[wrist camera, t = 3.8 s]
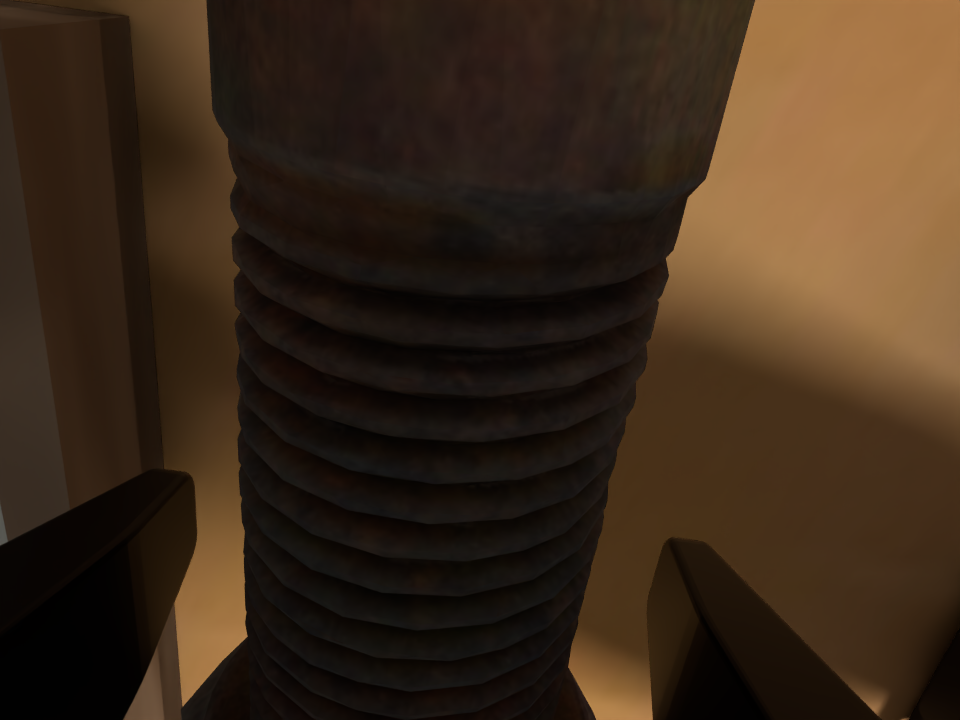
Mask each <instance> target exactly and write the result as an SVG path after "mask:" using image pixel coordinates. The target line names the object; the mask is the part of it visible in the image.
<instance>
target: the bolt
mask: <svg viewBox="0 0 960 720" xmlns="http://www.w3.org/2000/svg"><path fill="white" fill-rule="evenodd" d="M754 2H755V0H207V18H208V37H209V55H210V73H211V91H212V110H213V113H214V115H215V118H216V120H217V122H218V124H219V126H220V127H221V129H222V130H223V132H224V134H225V135H226V137H227V138H228V149H229V157H230V160H231V164H232V167H233V171H234V173H235V174H236V176H237V178H238V179H236V182H235V184H234V187H233V190H232V192H231V195H230V202H231V210H232V212H233V215H234V217H235V219H236V221H237V223H238V225H239V229H238V230H237V231H236V232H235V234H234V235H233V236H232V251H233V261H234V262H235V263H236V264H237V266H238V267H239V268H240V269H241V270H240V272H239V273H238V275H237V276H236V278H235V279H234V294H235V306H236V307H237V308H238V310H239V311H240V312H241V313H240V315H239V316H238V318H237V320H236V322H235V330H236V335H237V340H238V344H239V349H240V355H239V360H238V365H237V380H238V383H239V386H240V389H241V391H240V396H239V402H238V407H237V409H238V419H239V422H240V426H241V431H240V434H239V437H238V456H239V462H240V464H241V467H240V470H239V485H240V495H241V497H242V502H241V513H242V523H243V526H244V530H245V538H244V551H243V553H244V555H245V556H244V573H245V606H246V611H247V614H246V621H245V624H246V630H247V635H248V637H247V638H246V639H245V640H244V641H243V642H242V643H241V644H240V645H239V646H237V647H236V648H235V649H234V650H233V651H232V652H231V653H230V654H229V655H228V656H227V657H226V658H225V659H224V660H223V661H222V662H221V663H220V664H219V665H218V667H217V668H216V669H215V670H214V671H213V672H212V674H211V675H210V676H209V677H208V678H207V679H206V681H205V682H204V683H203V684H202V685H201V686H200V688H199V689H198V690H197V691H196V692H195V693H194V695H193V696H192V697H191V698H190V699H189V700H188V702H187V703H186V704H185V705H184V706H183V707H182V709H181V719H182V720H596V718H595V716H594V713H593V711H592V709H591V707H590V706H589V704H588V702H587V700H586V698H585V697H584V695H583V693H582V691H581V689H580V688H579V686H578V684H577V682H576V680H575V679H574V677H573V675H572V673H571V671H570V670H569V668H568V664H569V657H570V651H571V645H572V642H573V639H574V636H575V632H576V629H577V626H578V616H579V613H580V609H581V606H582V602H583V599H584V592H585V589H586V585H587V582H588V578H589V575H590V571H591V565H592V561H593V558H594V555H595V551H596V548H597V544H598V539H599V536H600V534H601V531H602V525H603V518H604V511H603V510H604V509H605V507H606V503H607V499H608V480H609V478H610V476H611V473H612V471H613V468H614V466H615V462H616V456H617V448H618V446H619V444H620V441H621V439H622V437H623V434H624V432H625V425H626V416H627V415H628V414H629V412H630V411H631V409H632V408H633V406H634V402H635V399H636V381H637V379H638V378H639V377H640V375H641V374H642V373H643V372H644V370H645V366H646V362H647V350H646V343H647V342H648V340H649V339H650V338H651V335H652V331H653V327H654V323H655V319H656V315H657V310H658V305H659V302H658V299H659V298H660V297H661V296H662V293H663V290H664V288H665V285H666V282H667V280H668V277H669V274H668V268H667V262H666V257H667V256H668V255H669V254H670V253H671V252H672V251H673V249H674V246H675V243H676V240H677V237H678V233H679V229H680V226H681V222H682V218H683V214H684V210H685V206H686V202H687V198H688V197H689V196H690V195H691V194H692V192H693V191H694V190H695V189H696V188H697V187H698V186H699V185H700V184H701V183H702V182H703V181H704V180H705V179H706V176H707V173H708V170H709V167H710V163H711V159H712V156H713V152H714V148H715V145H716V141H717V137H718V134H719V130H720V126H721V123H722V119H723V115H724V112H725V108H726V104H727V101H728V97H729V93H730V90H731V86H732V82H733V79H734V75H735V71H736V68H737V64H738V61H739V57H740V53H741V50H742V46H743V42H744V39H745V35H746V31H747V28H748V24H749V20H750V17H751V13H752V9H753V6H754Z"/></svg>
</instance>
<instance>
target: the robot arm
mask: <svg viewBox="0 0 960 720" xmlns="http://www.w3.org/2000/svg"><path fill="white" fill-rule="evenodd" d="M196 541H197V520H196V502H195V486H194V481H193V478H192V476H191V475H189V474H188V473H187V472H182V471H175V470H167V469H160V468H154V469H150V470H148V471H145V472H143V473H141V474H140V475H138V476H136V477H134V478H132V479H130V480H128V481H126V482H124V483H122V484H120V485H118V486H116V487H114V488H112V489H110V490H108V491H106V492H104V493H102V494H100V495H98V496H96V497H94V498H92V499H90V500H88V501H86V502H84V503H83V504H81V505H79V506H77V507H75V508H73V509H71V510H69V511H67V512H65V513H63V514H61V515H59V516H57V517H55V518H53V519H51V520H49V521H47V522H45V523H43V524H41V525H39V526H37V527H35V528H33V529H31V530H29V531H27V532H26V533H24V534H22V535H20V536H18V537H16V538H14V539H12V540H10V541H8V542H6V543H4V544H2V545H0V720H123V719H124V718H125V716H126V714H127V712H128V710H129V708H130V706H131V704H132V702H133V700H134V698H135V696H136V694H137V692H138V690H139V688H140V686H141V684H142V682H143V680H144V677H145V675H146V673H147V670H148V668H149V666H150V663H151V661H152V658H153V656H154V653H155V651H156V648H157V646H158V643H159V640H160V638H161V635H162V633H163V630H164V628H165V625H166V623H167V620H168V618H169V615H170V613H171V610H172V607H173V605H174V602H175V600H176V597H177V595H178V592H179V590H180V587H181V585H182V582H183V579H184V577H185V574H186V572H187V569H188V567H189V564H190V562H191V559H192V557H193V554H194V550H195V546H196ZM647 627H648V644H649V661H650V678H651V695H652V712H653V720H881V719H880V718H879V717H878V716H877V715H876V714H875V713H874V712H873V711H872V709H871V708H870V707H869V706H868V705H867V704H866V703H865V702H864V701H863V700H862V699H861V698H860V697H859V696H858V695H857V694H856V693H855V692H854V691H853V690H852V689H851V688H850V687H849V686H848V685H847V684H846V683H845V682H844V681H843V680H842V679H841V678H840V677H839V676H838V675H837V674H836V673H835V672H834V671H833V670H832V669H831V668H830V667H829V666H828V665H827V664H826V663H825V662H824V661H823V660H822V659H821V658H820V657H819V656H818V655H817V654H816V653H815V652H814V651H813V650H812V649H811V648H810V647H809V646H808V645H807V644H806V643H805V642H804V641H803V640H802V639H801V638H800V637H799V636H798V635H797V634H796V633H795V632H794V631H793V630H792V629H791V628H790V627H789V626H788V625H787V624H786V623H785V622H784V621H783V620H782V618H781V617H780V616H779V615H778V614H777V613H776V612H775V611H774V610H773V609H772V608H771V607H770V606H769V605H768V604H767V603H766V602H765V601H764V600H763V599H762V598H761V597H760V596H759V595H758V594H757V593H756V592H755V591H754V590H753V589H752V588H751V587H750V586H749V585H748V584H747V583H746V582H745V581H744V580H743V579H742V578H741V577H740V576H739V575H738V574H737V573H736V572H735V571H734V570H733V569H732V568H731V567H730V566H729V565H728V564H727V563H726V562H725V561H724V560H723V559H722V558H721V557H720V556H719V555H718V554H717V553H716V552H715V551H714V550H713V549H712V548H711V547H710V546H709V545H708V544H707V543H705V542H702V541H697V540H690V539H682V538H675V537H672V538H669V539H668V540H666V542H665V543H664V545H663V547H662V550H661V554H660V557H659V561H658V564H657V567H656V571H655V574H654V578H653V581H652V585H651V588H650V591H649V596H648V602H647ZM909 720H960V628H959V630H958V631H957V633H956V635H955V637H954V639H953V640H952V642H951V644H950V646H949V648H948V650H947V651H946V653H945V655H944V657H943V659H942V660H941V662H940V664H939V666H938V668H937V670H936V671H935V673H934V675H933V677H932V679H931V680H930V682H929V684H928V686H927V688H926V690H925V691H924V693H923V695H922V697H921V699H920V700H919V702H918V704H917V706H916V708H915V709H914V711H913V713H912V715H911V717H910V719H909Z"/></svg>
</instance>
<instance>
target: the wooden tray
mask: <svg viewBox="0 0 960 720" xmlns="http://www.w3.org/2000/svg"><path fill="white" fill-rule="evenodd" d="M154 468H160V469H164V465H163V452H162V439H161V426H160V413H159V400H158V387H157V374H156V361H155V348H154V335H153V322H152V309H151V296H150V283H149V270H148V257H147V244H146V231H145V219H144V206H143V193H142V180H141V167H140V154H139V141H138V128H137V115H136V102H135V89H134V76H133V63H132V50H131V37H130V24H129V16H122V15H114V14H107V13H100V12H92V11H85V10H78V9H70V8H63V7H56V6H48V5H41V4H34V3H26V2H19V1H12V0H0V545H2V544H4V543H6V542H8V541H10V540H12V539H14V538H16V537H18V536H20V535H22V534H24V533H26V532H27V531H29V530H31V529H33V528H35V527H37V526H39V525H41V524H43V523H45V522H47V521H49V520H51V519H53V518H55V517H57V516H59V515H61V514H63V513H65V512H67V511H69V510H71V509H73V508H75V507H77V506H79V505H81V504H83V503H84V502H86V501H88V500H90V499H92V498H94V497H96V496H98V495H100V494H102V493H104V492H106V491H108V490H110V489H112V488H114V487H116V486H118V485H120V484H122V483H124V482H126V481H128V480H130V479H132V478H134V477H136V476H138V475H140V474H141V473H143V472H145V471H148V470H150V469H154ZM181 709H182V698H181V685H180V672H179V659H178V646H177V633H176V620H175V607H174V605H173V607H172V610H171V613H170V615H169V618H168V620H167V623H166V625H165V628H164V630H163V633H162V635H161V638H160V640H159V643H158V646H157V648H156V651H155V653H154V656H153V658H152V661H151V663H150V666H149V668H148V670H147V673H146V675H145V677H144V680H143V682H142V684H141V686H140V688H139V690H138V692H137V694H136V696H135V698H134V700H133V702H132V704H131V706H130V708H129V710H128V712H127V714H126V716H125V718H124V719H123V720H182V719H181Z"/></svg>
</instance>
